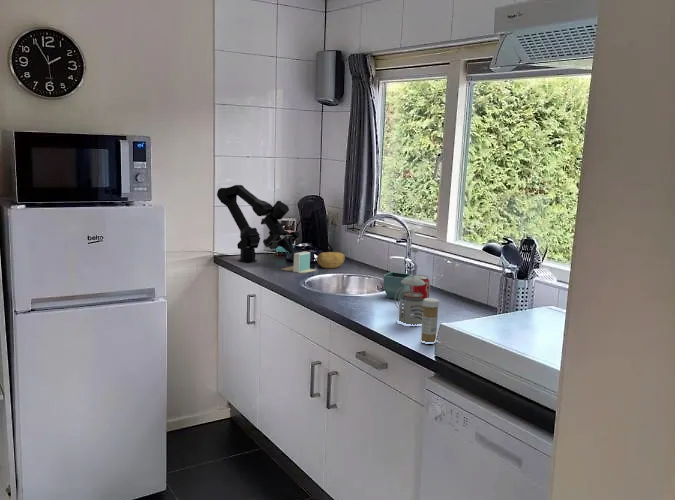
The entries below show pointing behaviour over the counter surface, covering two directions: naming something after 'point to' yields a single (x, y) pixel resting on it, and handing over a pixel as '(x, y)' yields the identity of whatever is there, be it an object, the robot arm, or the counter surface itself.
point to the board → (298, 272)
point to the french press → (411, 301)
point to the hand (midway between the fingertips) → (292, 253)
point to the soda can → (422, 287)
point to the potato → (330, 259)
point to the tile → (301, 261)
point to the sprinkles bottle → (429, 319)
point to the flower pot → (395, 284)
